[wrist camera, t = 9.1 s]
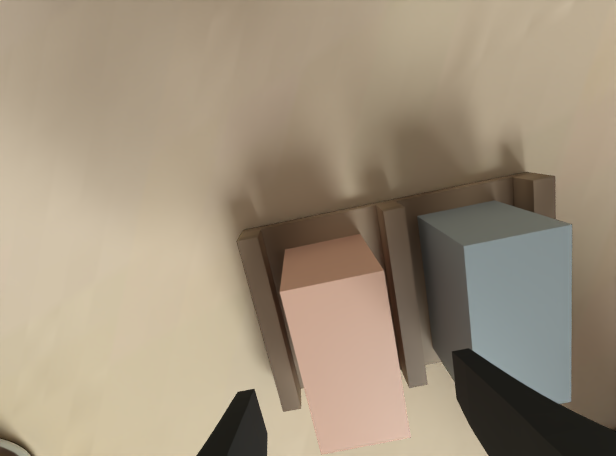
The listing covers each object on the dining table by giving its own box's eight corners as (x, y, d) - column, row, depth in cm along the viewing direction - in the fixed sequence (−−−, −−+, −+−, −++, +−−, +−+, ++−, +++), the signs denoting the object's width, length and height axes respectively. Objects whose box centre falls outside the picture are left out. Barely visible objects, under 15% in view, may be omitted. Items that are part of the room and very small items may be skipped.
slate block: (494, 200, 17) (572, 224, 12) (502, 335, 19) (571, 401, 14) (417, 216, 17) (463, 246, 12) (433, 348, 19) (478, 418, 14)
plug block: (360, 233, 17) (383, 270, 12) (382, 362, 19) (410, 437, 14) (285, 249, 17) (279, 292, 13) (315, 376, 19) (321, 454, 15)
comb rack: (526, 172, 17) (555, 176, 15) (531, 338, 20) (556, 360, 18) (243, 230, 18) (236, 241, 16) (284, 385, 20) (283, 411, 18)
